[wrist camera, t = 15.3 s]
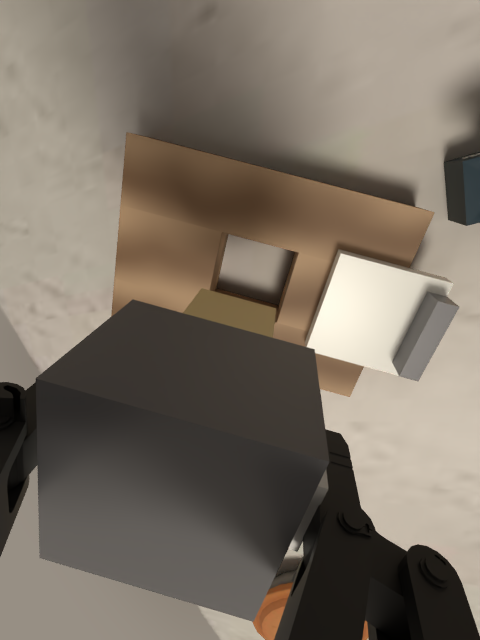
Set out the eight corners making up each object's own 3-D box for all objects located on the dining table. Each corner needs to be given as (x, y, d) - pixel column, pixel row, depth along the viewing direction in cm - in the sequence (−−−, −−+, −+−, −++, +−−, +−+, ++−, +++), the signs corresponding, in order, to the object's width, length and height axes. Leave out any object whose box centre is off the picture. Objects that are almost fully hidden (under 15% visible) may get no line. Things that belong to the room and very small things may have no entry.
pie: (243, 608, 52) (238, 650, 48) (268, 546, 46) (266, 587, 41) (343, 637, 52) (348, 682, 47) (382, 578, 45) (393, 623, 41)
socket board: (148, 137, 28) (126, 132, 24) (415, 206, 27) (434, 212, 23) (129, 313, 34) (110, 330, 31) (343, 372, 34) (349, 397, 30)
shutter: (338, 249, 25) (344, 260, 22) (445, 277, 25) (467, 292, 22) (304, 342, 29) (306, 363, 26) (399, 368, 28) (412, 392, 25)
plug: (182, 259, 17) (35, 378, 7) (307, 292, 17) (329, 461, 7) (164, 365, 20) (39, 557, 10) (272, 395, 20) (253, 621, 10)
